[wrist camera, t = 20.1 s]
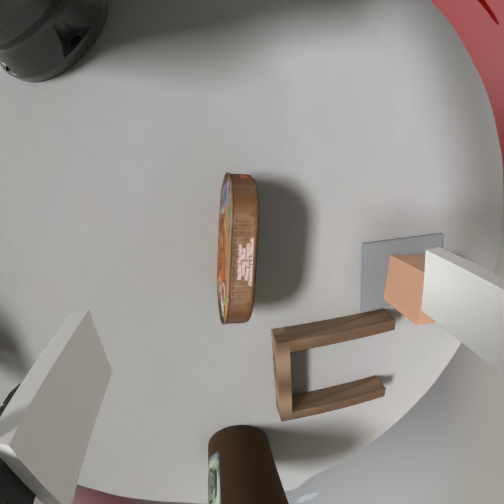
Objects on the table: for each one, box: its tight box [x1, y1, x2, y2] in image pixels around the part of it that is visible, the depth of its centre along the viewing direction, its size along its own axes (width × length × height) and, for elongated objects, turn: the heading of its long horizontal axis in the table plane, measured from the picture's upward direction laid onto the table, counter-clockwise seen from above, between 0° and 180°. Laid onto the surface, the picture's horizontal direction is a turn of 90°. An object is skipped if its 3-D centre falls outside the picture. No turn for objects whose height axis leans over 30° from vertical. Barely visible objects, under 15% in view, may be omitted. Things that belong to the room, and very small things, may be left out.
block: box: [383, 254, 436, 325], centre depth 35 cm, size 6×6×8 cm
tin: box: [217, 172, 259, 325], centre depth 31 cm, size 15×3×8 cm, turn 176°
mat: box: [360, 233, 443, 312], centre depth 39 cm, size 9×13×1 cm
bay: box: [271, 309, 396, 421], centre depth 39 cm, size 13×16×4 cm
